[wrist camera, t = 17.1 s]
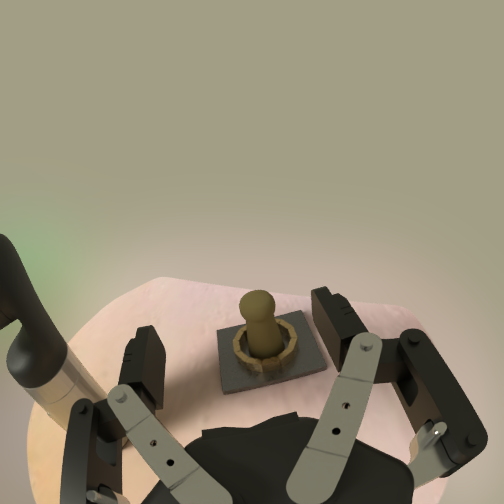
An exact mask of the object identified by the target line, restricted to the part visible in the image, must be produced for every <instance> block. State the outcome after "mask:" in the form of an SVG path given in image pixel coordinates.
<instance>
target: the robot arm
mask: <svg viewBox="0 0 504 504" xmlns="http://www.w3.org/2000/svg"><path fill="white" fill-rule="evenodd" d="M311 300H312V315H313V320H314V323H315V325H316V327H317V329H318V331H319V333H320V336H321V338H322V340H323V342H324V344H325V346H326V348H327V350H328V352H329V354H330V356H331V358H332V360H333V363H334V365H335V367H336V369H337V371H338V372H341V373H340V375H338V376H337V378H336V380H335V383H334V385H333V388H332V390H331V393H330V395H329V398H328V400H327V402H326V405H325V407H324V410H323V412H322V414H321V417H320V419H315V418H310V417H298V415H297V412H292V413H288V414H285V415H280V416H276V417H273V418H270V419H268V420H266V421H264V422H262V423H260V424H257V425H255V426H253V427H250V428H236V427H221V428H214V429H207V430H202V437H199V438H197V439H195V440H194V441H192V442H191V443H189V444H188V445H187V446H186V447H185V448H184V447H183V446H182V445H181V444H180V443H179V442H178V441H177V440H176V439H175V438H174V437H173V436H172V434H171V433H170V432H169V431H168V430H167V429H166V428H165V427H164V426H163V424H162V423H161V422H160V421H159V420H158V419H157V418H156V416H155V410H158V409H163V396H164V378H165V363H166V352H165V348H164V346H163V344H162V342H161V340H160V338H159V336H158V334H157V332H156V330H155V328H154V327H153V326H152V325H150V326H144V327H139V328H138V329H137V332H136V337H135V338H133V339H131V340H130V341H129V343H128V344H127V346H126V348H125V353H124V357H123V363H122V367H121V372H120V377H119V382H118V385H117V386H115V387H114V388H113V389H112V390H111V391H110V392H109V394H108V395H107V394H106V392H105V391H104V390H103V389H102V388H101V387H100V386H99V384H98V383H97V382H96V381H95V380H94V378H93V377H92V376H91V375H90V373H89V372H88V371H87V370H86V368H85V367H84V366H83V365H82V363H81V362H80V361H79V359H78V358H77V357H76V355H75V354H74V353H73V351H72V350H71V349H70V347H69V346H68V344H67V343H66V342H65V341H64V339H63V337H62V336H61V335H60V333H59V331H58V330H57V328H56V327H55V325H54V324H53V322H52V320H51V319H50V317H49V315H48V314H47V312H46V311H45V309H44V307H43V305H42V303H41V302H40V300H39V298H38V296H37V294H36V292H35V290H34V288H33V286H32V284H31V281H30V279H29V277H28V275H27V273H26V270H25V268H24V266H23V264H22V262H21V259H20V257H19V255H18V253H17V251H16V249H15V247H14V246H13V244H12V243H11V241H10V240H9V239H8V238H7V237H6V236H4V235H3V234H0V330H1V329H3V328H4V327H5V326H7V325H9V324H10V323H12V322H13V321H15V320H16V319H18V320H20V322H21V323H22V327H21V330H20V332H19V333H18V335H17V336H16V338H15V339H14V341H13V343H12V344H11V346H10V348H9V351H8V354H7V360H6V362H7V367H8V370H9V372H10V374H11V375H12V376H13V378H14V379H15V380H16V381H17V382H18V383H19V384H20V385H21V386H22V387H23V388H24V390H25V391H26V392H27V393H28V394H29V395H30V396H31V397H32V398H33V399H34V400H35V401H36V402H37V403H38V404H39V405H40V406H41V407H42V408H43V409H44V410H45V411H46V412H47V414H48V415H49V417H51V418H52V419H53V420H54V421H55V422H56V423H57V424H58V425H60V426H61V427H62V428H63V429H64V430H65V431H67V434H66V441H65V448H64V456H63V465H62V475H61V489H60V504H130V502H129V501H128V499H127V498H126V497H124V496H123V495H122V447H123V446H124V445H125V443H126V442H127V440H128V438H129V440H130V441H131V443H132V444H133V445H134V447H135V448H136V449H137V451H138V452H139V453H140V455H141V456H142V457H143V459H144V460H145V461H146V462H147V464H148V465H149V466H150V468H151V469H152V470H153V471H154V472H155V474H156V475H157V476H158V477H159V478H160V480H159V481H158V483H157V484H156V485H155V487H154V488H153V489H152V490H151V492H150V493H149V494H148V495H147V497H146V498H145V499H144V500H143V502H142V503H141V504H412V497H413V492H414V490H415V489H417V488H419V487H421V486H423V485H425V484H427V483H429V482H431V481H433V480H434V479H436V478H438V477H440V478H445V477H448V476H450V475H451V474H453V473H454V472H456V471H457V470H459V469H460V468H461V467H463V466H464V465H465V464H467V463H468V462H470V461H471V460H472V459H473V458H475V457H476V456H477V455H479V454H480V453H481V452H482V451H483V450H484V449H485V447H486V445H487V441H488V435H487V432H486V430H485V428H484V426H483V424H482V422H481V420H480V419H479V417H478V415H477V413H476V412H475V410H474V408H473V406H472V405H471V403H470V401H469V400H468V398H467V396H466V395H465V393H464V391H463V390H462V388H461V386H460V385H459V383H458V382H457V380H456V378H455V377H454V375H453V374H452V372H451V371H450V369H449V368H448V366H447V364H446V363H445V361H444V360H443V358H442V357H441V355H440V354H439V352H438V351H437V349H436V348H435V347H434V345H433V344H432V342H431V341H430V339H429V338H428V336H427V335H426V334H425V333H424V332H423V331H421V330H419V329H413V328H412V329H407V330H405V331H403V332H402V333H401V335H400V338H395V339H380V338H379V337H378V336H377V335H375V334H373V333H369V332H368V330H367V329H366V327H365V326H364V324H363V323H362V321H361V319H360V318H359V317H358V315H357V314H356V312H355V311H354V309H353V308H352V307H351V305H350V303H349V302H348V300H347V299H346V298H345V297H343V296H342V295H340V294H339V293H337V294H334V295H332V294H331V293H330V291H329V289H328V288H327V287H326V286H324V287H321V288H317V289H313V290H311ZM389 382H391V383H392V385H393V387H394V389H395V391H396V393H397V395H398V397H399V400H400V402H401V404H402V406H403V408H404V410H405V412H406V414H407V416H408V418H409V421H410V423H411V425H412V427H413V429H414V431H415V434H416V435H415V436H414V438H413V439H412V440H411V443H410V447H409V449H410V454H411V458H410V462H409V464H408V465H406V464H405V463H404V462H402V461H401V460H399V459H397V458H395V457H392V456H390V455H388V454H386V453H384V452H382V451H380V450H378V449H375V448H373V447H371V446H369V445H367V444H365V443H363V442H361V441H359V440H358V439H356V436H357V433H358V430H359V427H360V425H361V422H362V419H363V415H364V412H365V409H366V406H367V403H368V399H369V396H370V392H371V389H372V385H373V384H379V383H389Z"/></svg>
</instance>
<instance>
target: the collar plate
mask: <svg viewBox="0 0 504 504" xmlns="http://www.w3.org/2000/svg"><path fill="white" fill-rule="evenodd" d="M275 320H276V322H277V325H278V328H279V331H280V333H281V336H282V339H283V342H284V344H285V350H284V351H283V352H282V353H280V354H279V355H278V356H276V357H272V358H268V359H264V360H261V359H255V358H252V357H251V356H250V355H249V350H248V339H247V328H246V324H243V325H238V326H234V327H229V328H225V329H220V330H217V339H218V351H219V361H220V372H221V381H222V391H223V393H224V395H226V394H231V393H236V392H241V391H246V390H251V389H255V388H260V387H264V386H268V385H272V384H276V383H280V382H284V381H288V380H292V379H296V378H299V377H303V376H306V375H310V374H313V373H317V372H320V371H323V370H326V369H327V366H326V363H325V361H324V359H323V357H322V354H321V352H320V350H319V348H318V346H317V343H316V341H315V339H314V337H313V335H312V332H311V330H310V328H309V326H308V324H307V321H306V319H305V317H304V315H303V313H302V311H301V310H299V311H295V312H291V313H288V314H284V315H280V316H276V317H275Z"/></svg>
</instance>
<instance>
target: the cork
mask: <svg viewBox="0 0 504 504" xmlns="http://www.w3.org/2000/svg"><path fill="white" fill-rule="evenodd" d="M239 309H240V313H241V315H242V316H243V318H244V319H245V320H246V328H247V339H248V350H249V355H250V356H251V357H252V358H255V359H261V360H264V359H268V358H272V357H276V356H278V355H279V354H280V353H282V352H283V351H284V350H285V344H284V342H283V339H282V336H281V333H280V331H279V328H278V325H277V322H276V320H275V317H274V312H275V301H274V298H273V296H272V295H271V294H269V293H268V292H267V291H264V290H254V291H251V292H248V293H246V294H245V295H244V296H243V297H242V298H241V300H240V304H239Z"/></svg>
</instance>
